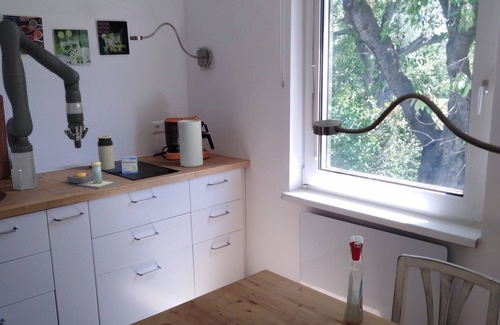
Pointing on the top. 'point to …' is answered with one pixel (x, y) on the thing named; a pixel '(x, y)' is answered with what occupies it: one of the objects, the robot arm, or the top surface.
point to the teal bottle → (96, 172)
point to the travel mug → (106, 152)
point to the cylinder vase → (190, 143)
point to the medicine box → (129, 165)
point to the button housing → (80, 179)
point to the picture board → (103, 184)
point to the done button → (80, 174)
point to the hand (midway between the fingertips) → (78, 148)
